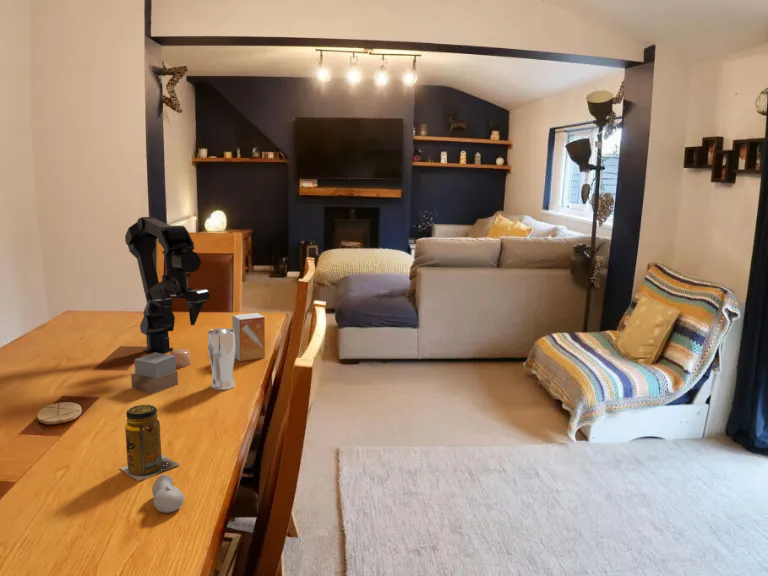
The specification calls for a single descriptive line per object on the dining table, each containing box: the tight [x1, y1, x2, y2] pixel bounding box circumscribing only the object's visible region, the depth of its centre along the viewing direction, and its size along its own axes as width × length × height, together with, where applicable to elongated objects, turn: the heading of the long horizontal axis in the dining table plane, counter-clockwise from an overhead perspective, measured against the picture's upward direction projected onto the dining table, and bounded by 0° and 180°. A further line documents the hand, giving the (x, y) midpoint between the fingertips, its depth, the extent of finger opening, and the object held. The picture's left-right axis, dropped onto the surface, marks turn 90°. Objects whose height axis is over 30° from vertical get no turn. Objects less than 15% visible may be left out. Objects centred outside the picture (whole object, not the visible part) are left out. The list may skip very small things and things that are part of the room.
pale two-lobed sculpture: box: [151, 474, 185, 514], centre depth 101 cm, size 4×8×5 cm
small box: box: [231, 312, 266, 362], centre depth 181 cm, size 8×6×13 cm
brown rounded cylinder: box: [169, 348, 191, 369], centre depth 174 cm, size 6×6×4 cm
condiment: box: [119, 404, 180, 482], centre depth 113 cm, size 7×8×12 cm
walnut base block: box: [130, 370, 179, 395], centre depth 156 cm, size 8×8×4 cm
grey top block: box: [134, 353, 177, 379], centre depth 156 cm, size 7×7×4 cm
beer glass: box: [207, 327, 236, 391], centre depth 156 cm, size 7×7×15 cm
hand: (180, 324), depth 172 cm, fingers open, 9 cm apart
